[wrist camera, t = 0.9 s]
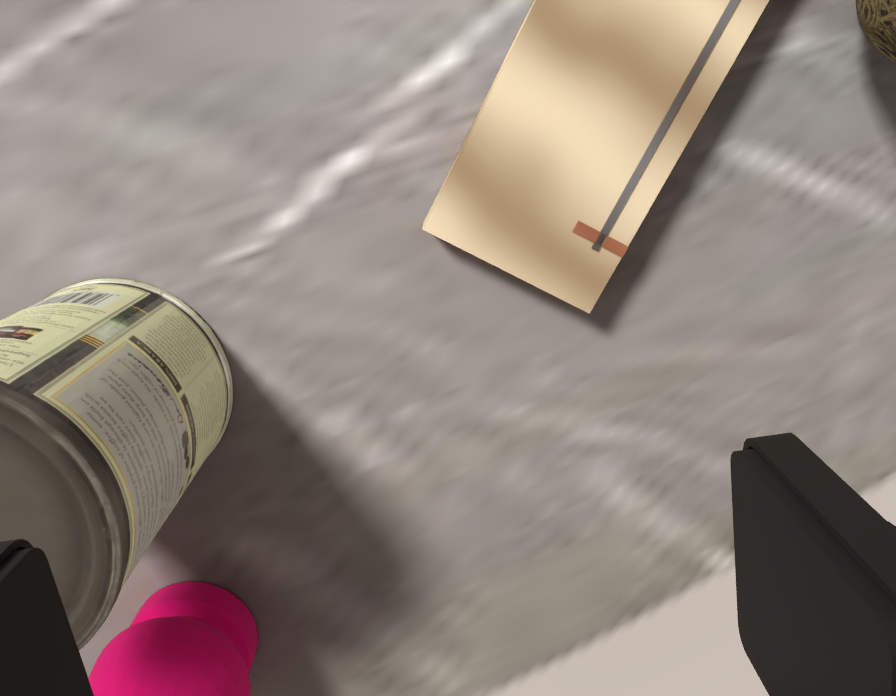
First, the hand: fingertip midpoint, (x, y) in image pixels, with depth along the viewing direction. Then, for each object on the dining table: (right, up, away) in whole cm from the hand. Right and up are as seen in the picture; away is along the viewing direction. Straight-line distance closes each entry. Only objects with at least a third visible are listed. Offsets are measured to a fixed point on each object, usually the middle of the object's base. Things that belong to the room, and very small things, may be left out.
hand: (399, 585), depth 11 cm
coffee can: (-14, +1, +26) cm, 30 cm away
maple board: (+8, +15, +22) cm, 28 cm away
